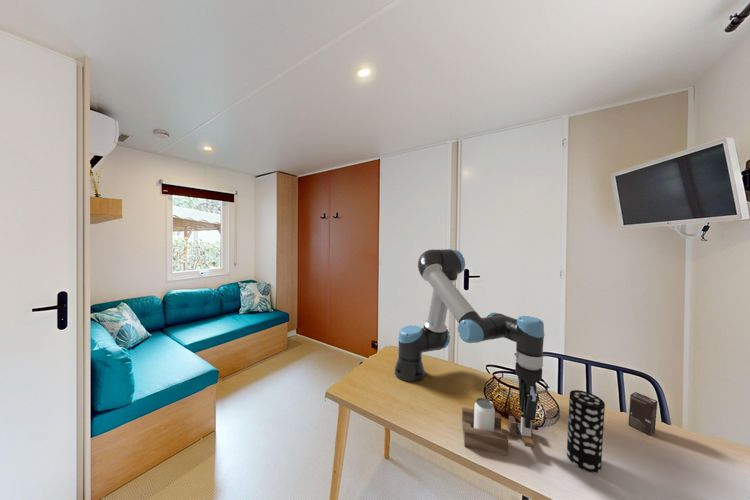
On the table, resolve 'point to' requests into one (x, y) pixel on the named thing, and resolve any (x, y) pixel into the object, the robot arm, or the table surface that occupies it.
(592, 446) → the white-spotted black cylinder
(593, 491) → the table surface
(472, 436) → the hitch block
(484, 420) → the can
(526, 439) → the keeper
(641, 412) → the box
